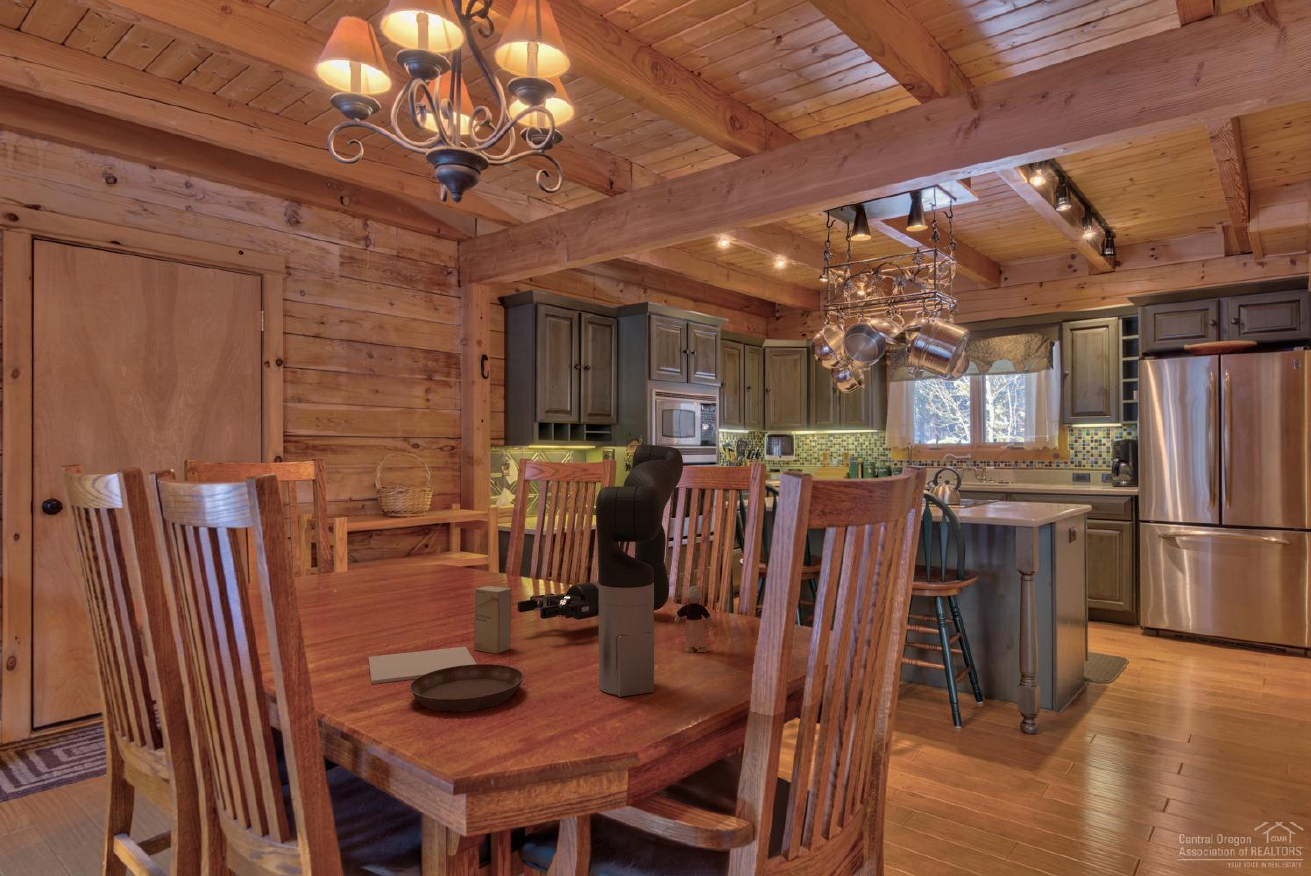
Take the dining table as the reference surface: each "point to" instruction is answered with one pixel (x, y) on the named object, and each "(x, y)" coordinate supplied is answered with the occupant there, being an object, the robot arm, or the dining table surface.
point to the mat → (416, 664)
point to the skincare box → (492, 619)
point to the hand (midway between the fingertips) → (529, 610)
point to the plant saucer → (466, 687)
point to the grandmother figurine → (694, 620)
